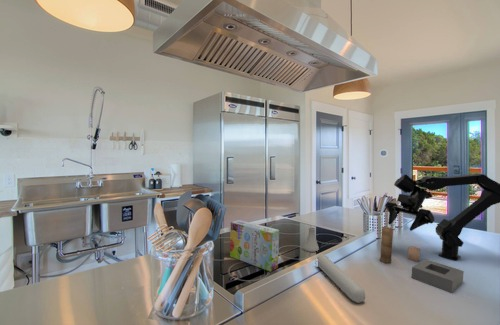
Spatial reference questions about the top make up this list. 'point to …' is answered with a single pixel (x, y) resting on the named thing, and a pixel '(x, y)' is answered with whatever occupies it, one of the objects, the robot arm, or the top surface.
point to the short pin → (413, 254)
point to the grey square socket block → (437, 275)
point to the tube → (341, 279)
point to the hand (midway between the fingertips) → (399, 227)
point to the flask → (311, 241)
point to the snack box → (254, 244)
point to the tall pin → (386, 245)
